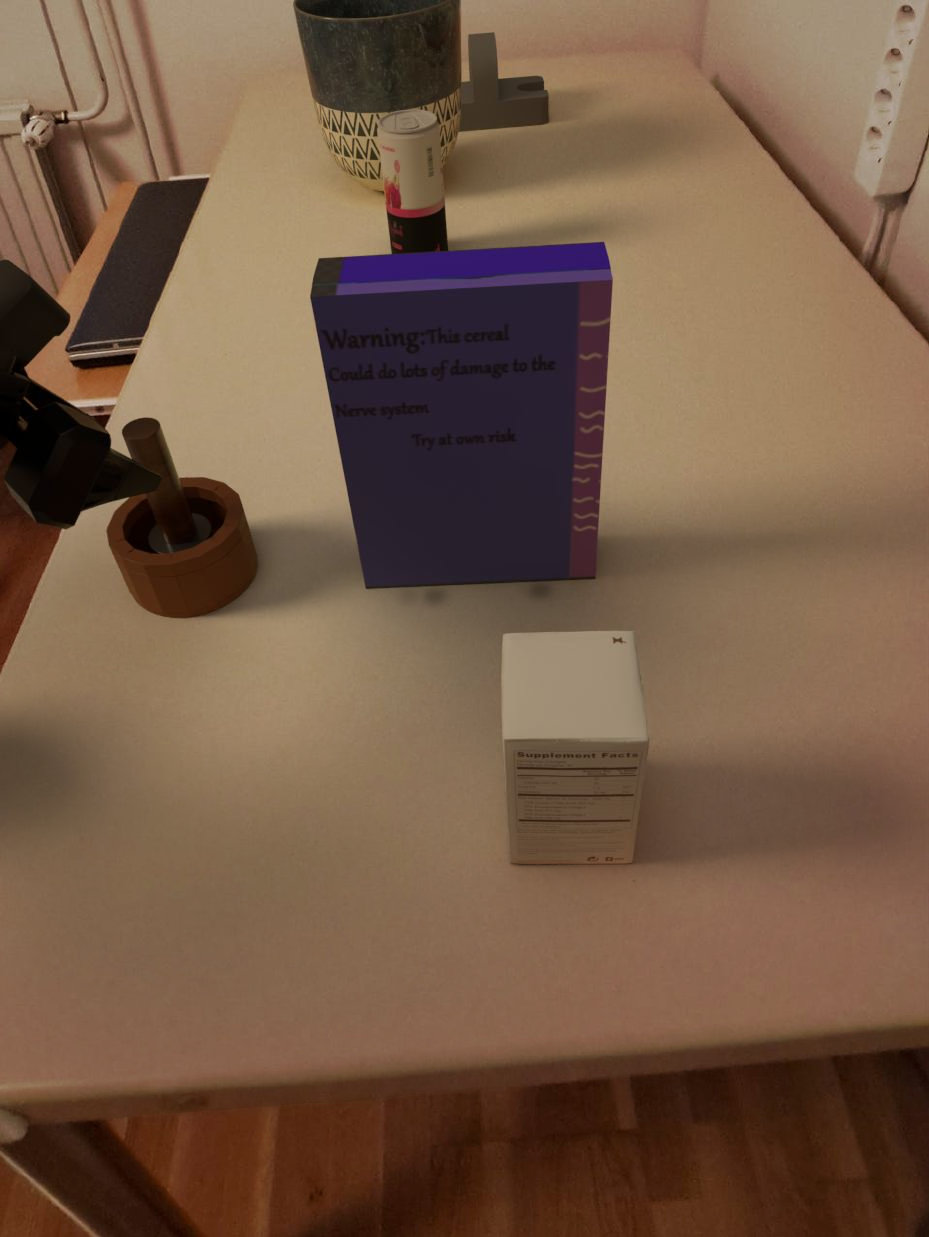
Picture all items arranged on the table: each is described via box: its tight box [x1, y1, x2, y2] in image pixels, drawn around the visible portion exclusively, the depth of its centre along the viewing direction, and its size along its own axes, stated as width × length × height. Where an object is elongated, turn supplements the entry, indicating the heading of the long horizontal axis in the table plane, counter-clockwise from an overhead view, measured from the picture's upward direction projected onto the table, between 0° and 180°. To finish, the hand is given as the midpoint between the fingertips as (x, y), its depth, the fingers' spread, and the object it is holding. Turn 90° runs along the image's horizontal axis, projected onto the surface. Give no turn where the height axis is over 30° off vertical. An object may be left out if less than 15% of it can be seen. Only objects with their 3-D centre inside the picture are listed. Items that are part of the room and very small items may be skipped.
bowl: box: [106, 476, 259, 618], centre depth 72 cm, size 10×10×6 cm
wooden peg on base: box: [121, 416, 214, 554], centre depth 69 cm, size 5×5×13 cm
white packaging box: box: [500, 630, 650, 865], centre depth 52 cm, size 7×7×13 cm
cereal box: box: [309, 241, 614, 589], centre depth 64 cm, size 17×5×24 cm, turn 90°
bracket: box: [458, 31, 550, 132], centre depth 135 cm, size 10×18×11 cm, turn 93°
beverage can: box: [377, 109, 449, 254], centre depth 103 cm, size 7×6×15 cm
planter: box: [292, 0, 462, 192], centre depth 116 cm, size 20×20×21 cm
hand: (125, 453), depth 64 cm, fingers open, 9 cm apart
